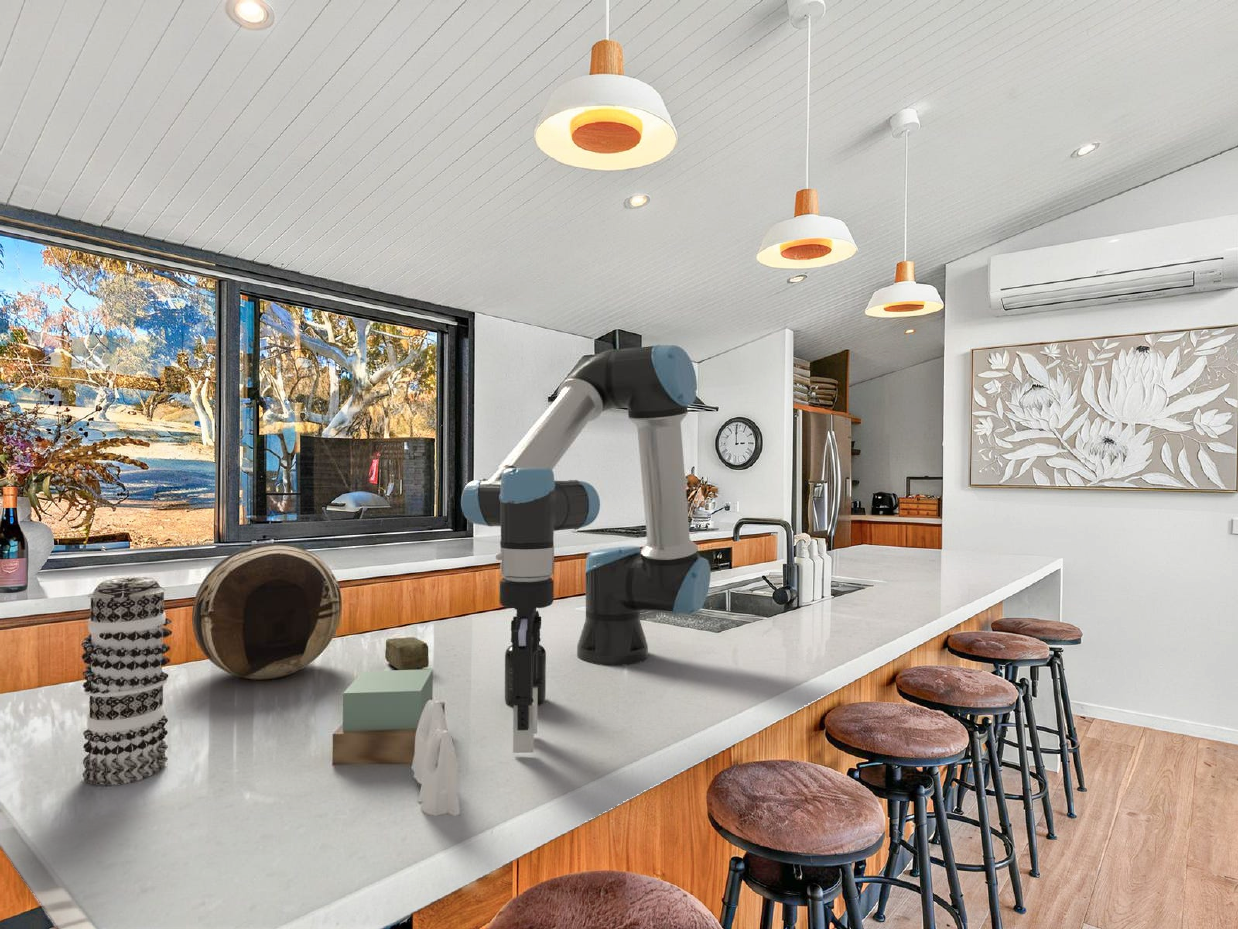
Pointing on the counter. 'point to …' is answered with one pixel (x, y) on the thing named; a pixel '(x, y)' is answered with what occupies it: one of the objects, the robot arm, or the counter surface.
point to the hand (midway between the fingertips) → (525, 741)
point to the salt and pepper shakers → (435, 763)
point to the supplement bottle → (541, 676)
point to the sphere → (266, 611)
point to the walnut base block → (374, 746)
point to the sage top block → (387, 699)
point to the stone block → (407, 653)
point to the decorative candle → (125, 681)
